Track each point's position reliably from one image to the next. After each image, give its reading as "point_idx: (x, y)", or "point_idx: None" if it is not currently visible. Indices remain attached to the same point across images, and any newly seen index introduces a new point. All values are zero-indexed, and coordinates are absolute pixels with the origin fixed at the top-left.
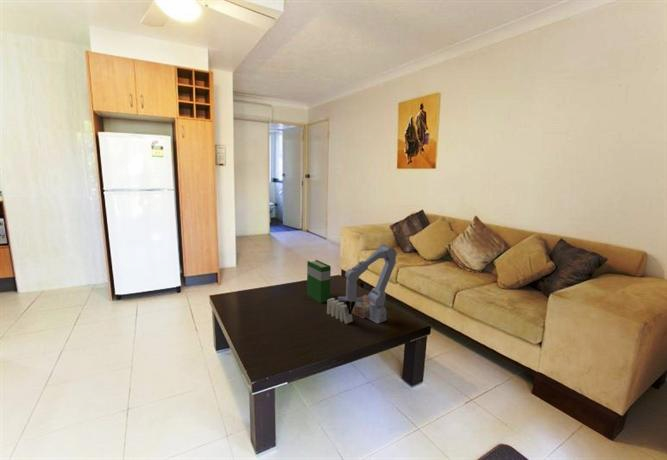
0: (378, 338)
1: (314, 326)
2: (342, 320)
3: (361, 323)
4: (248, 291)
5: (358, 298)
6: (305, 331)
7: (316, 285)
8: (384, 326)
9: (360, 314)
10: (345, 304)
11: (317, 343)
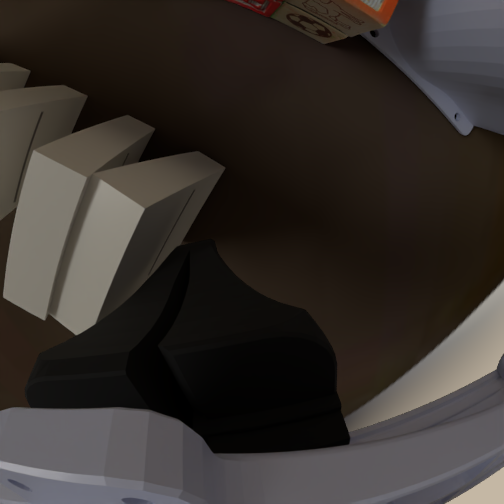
0: (434, 330)
1: (6, 347)
2: None
3: (325, 166)
4: None
5: (473, 441)
6: (19, 395)
7: None
8: (493, 167)
9: (294, 17)
10: (24, 184)
11: None
